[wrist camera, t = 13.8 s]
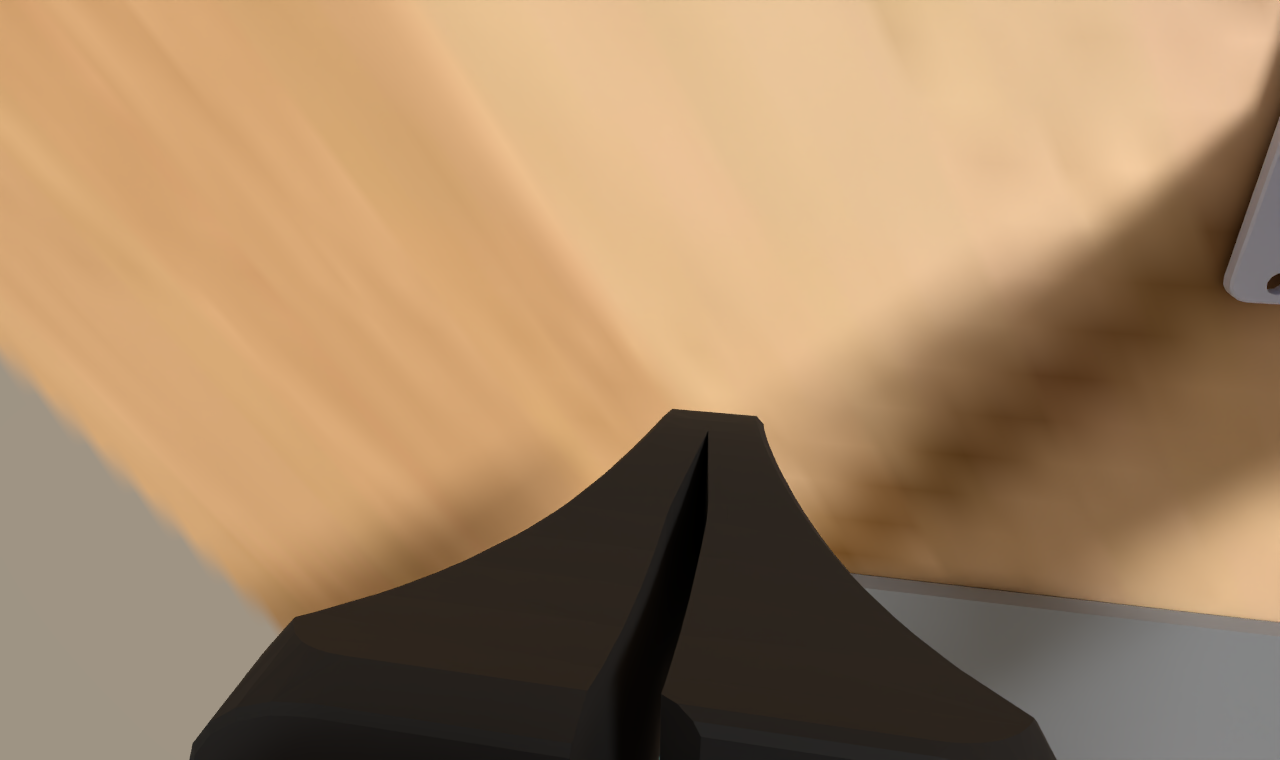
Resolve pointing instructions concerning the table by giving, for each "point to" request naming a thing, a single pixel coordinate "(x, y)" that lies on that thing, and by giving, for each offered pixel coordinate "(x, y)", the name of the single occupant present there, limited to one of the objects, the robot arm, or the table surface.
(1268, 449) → the table surface
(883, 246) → the table surface
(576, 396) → the table surface
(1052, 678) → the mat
